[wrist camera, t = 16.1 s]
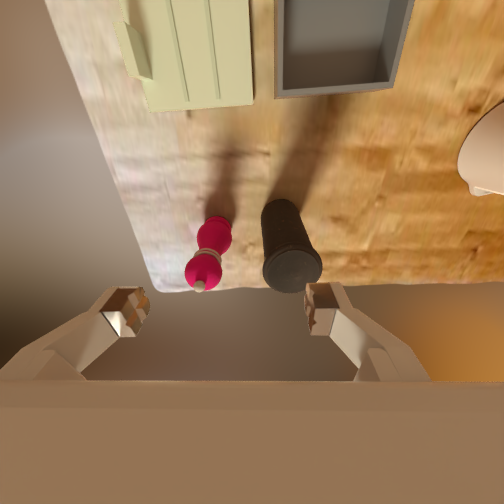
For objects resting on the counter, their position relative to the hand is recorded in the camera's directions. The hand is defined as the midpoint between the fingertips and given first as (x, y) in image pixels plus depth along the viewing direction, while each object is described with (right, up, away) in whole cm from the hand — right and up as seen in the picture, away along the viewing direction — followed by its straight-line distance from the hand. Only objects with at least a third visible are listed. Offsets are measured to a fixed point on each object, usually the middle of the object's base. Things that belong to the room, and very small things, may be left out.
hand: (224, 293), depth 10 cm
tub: (+13, +33, +20) cm, 40 cm away
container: (+7, +10, +35) cm, 37 cm away
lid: (-7, +31, +20) cm, 38 cm away
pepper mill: (-7, +8, +37) cm, 38 cm away
